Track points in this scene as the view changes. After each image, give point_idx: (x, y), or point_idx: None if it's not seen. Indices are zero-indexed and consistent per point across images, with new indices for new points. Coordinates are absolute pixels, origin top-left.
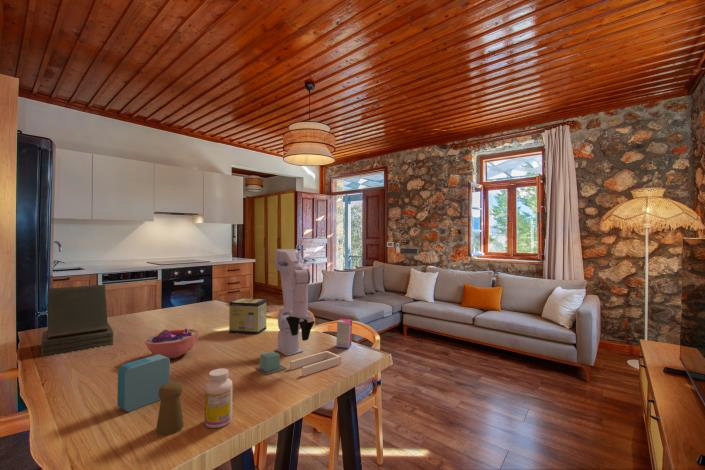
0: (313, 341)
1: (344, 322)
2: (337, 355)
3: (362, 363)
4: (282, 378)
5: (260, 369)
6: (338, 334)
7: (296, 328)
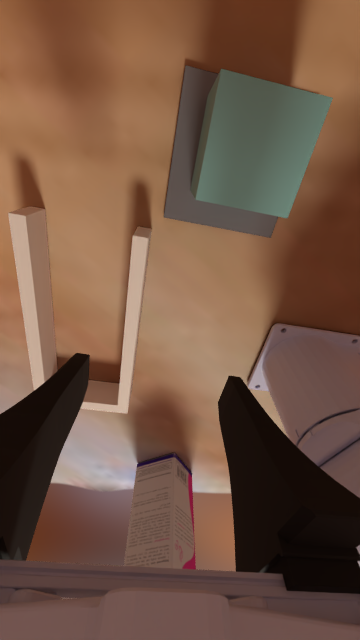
0: None
1: None
2: None
3: None
4: (78, 106)
5: None
6: (166, 506)
7: (230, 441)
